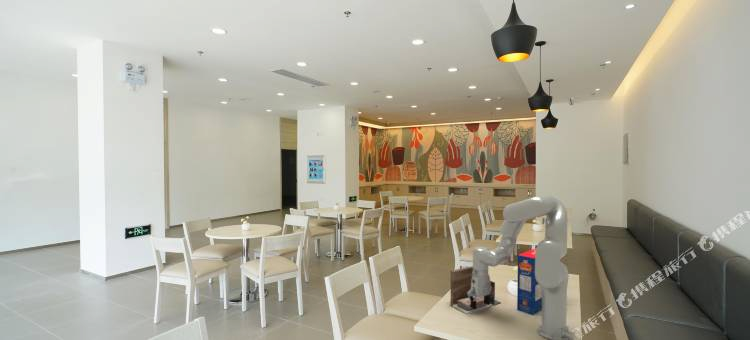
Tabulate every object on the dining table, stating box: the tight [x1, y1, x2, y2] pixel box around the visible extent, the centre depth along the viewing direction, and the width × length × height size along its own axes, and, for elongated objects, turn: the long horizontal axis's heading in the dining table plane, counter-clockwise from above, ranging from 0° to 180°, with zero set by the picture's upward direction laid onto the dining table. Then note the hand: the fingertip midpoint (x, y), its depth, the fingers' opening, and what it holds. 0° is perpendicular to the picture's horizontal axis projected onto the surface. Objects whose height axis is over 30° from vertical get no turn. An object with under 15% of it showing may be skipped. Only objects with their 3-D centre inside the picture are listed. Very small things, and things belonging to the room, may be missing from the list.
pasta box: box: [516, 248, 542, 316], centre depth 185 cm, size 28×8×28 cm, turn 132°
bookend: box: [490, 280, 502, 306], centre depth 190 cm, size 10×6×12 cm, turn 32°
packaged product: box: [452, 296, 493, 315], centre depth 183 cm, size 18×5×10 cm
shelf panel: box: [450, 265, 473, 307], centre depth 189 cm, size 2×20×18 cm, turn 122°
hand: (480, 306), depth 178 cm, fingers open, 9 cm apart
